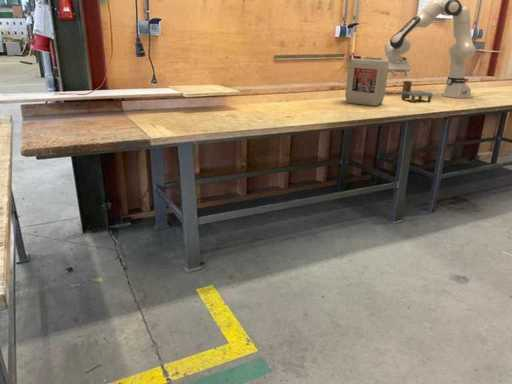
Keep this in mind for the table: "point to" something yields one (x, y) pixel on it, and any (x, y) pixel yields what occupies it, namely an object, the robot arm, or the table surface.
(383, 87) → the jerry can
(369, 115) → the table surface
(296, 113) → the table surface
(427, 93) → the step stool
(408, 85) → the walnut post
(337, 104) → the table surface
